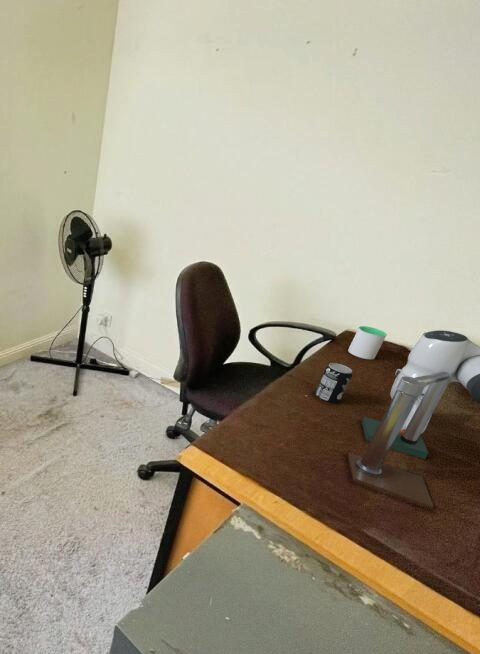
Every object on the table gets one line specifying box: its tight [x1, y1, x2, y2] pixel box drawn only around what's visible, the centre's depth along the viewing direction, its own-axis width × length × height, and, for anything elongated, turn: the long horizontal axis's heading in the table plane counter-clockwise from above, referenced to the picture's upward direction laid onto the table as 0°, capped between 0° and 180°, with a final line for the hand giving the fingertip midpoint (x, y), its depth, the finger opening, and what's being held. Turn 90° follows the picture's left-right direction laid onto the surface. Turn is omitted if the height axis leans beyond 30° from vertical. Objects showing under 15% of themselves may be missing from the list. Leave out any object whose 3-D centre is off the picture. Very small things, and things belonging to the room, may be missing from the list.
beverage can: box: [314, 362, 353, 404], centre depth 133 cm, size 7×7×12 cm
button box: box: [361, 416, 429, 460], centre depth 116 cm, size 12×10×4 cm
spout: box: [397, 371, 452, 445], centre depth 99 cm, size 16×4×21 cm, turn 108°
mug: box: [347, 325, 387, 360], centre depth 161 cm, size 12×8×10 cm
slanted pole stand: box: [347, 389, 434, 509], centre depth 98 cm, size 14×11×26 cm
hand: (397, 427), depth 115 cm, fingers closed, pressing on button
